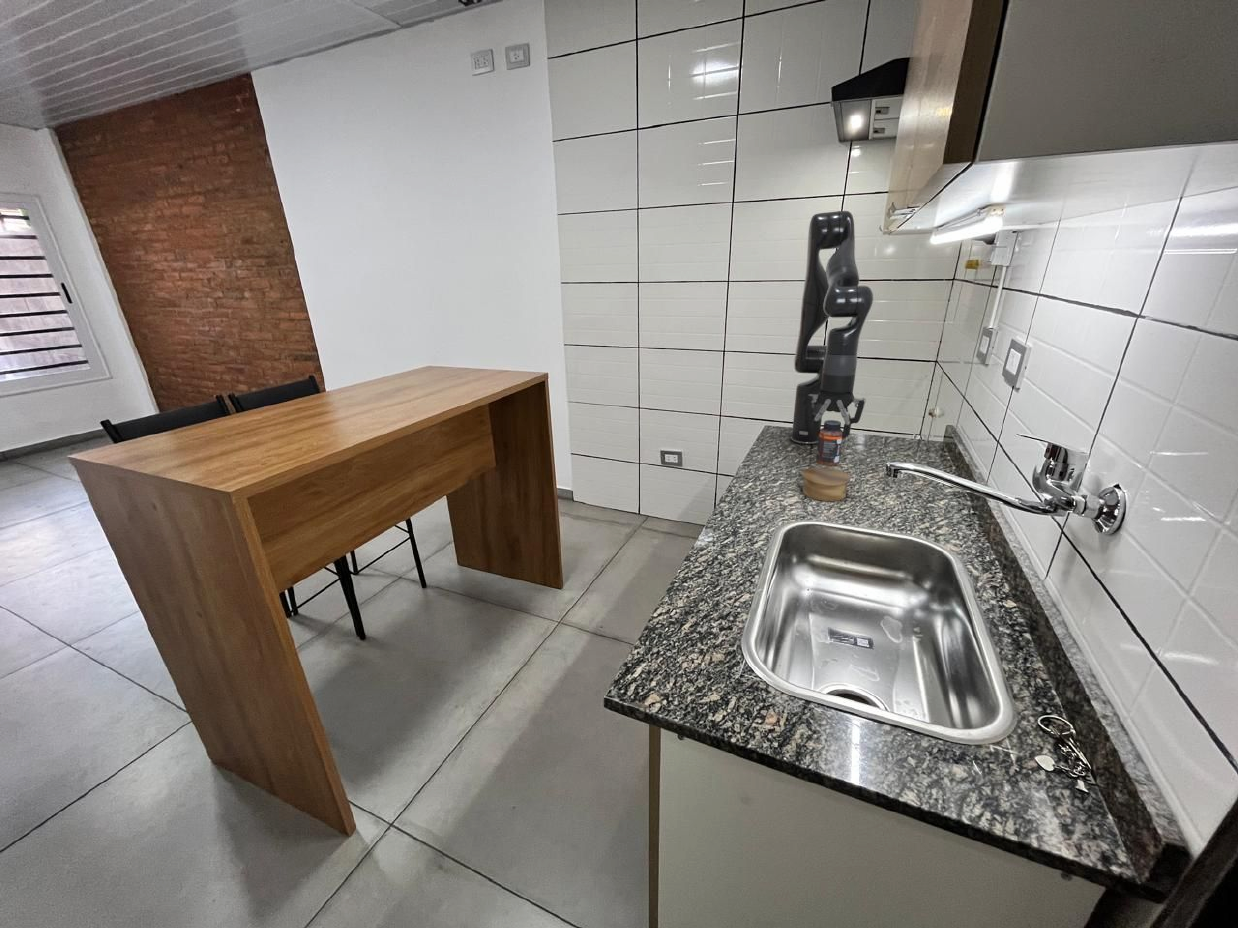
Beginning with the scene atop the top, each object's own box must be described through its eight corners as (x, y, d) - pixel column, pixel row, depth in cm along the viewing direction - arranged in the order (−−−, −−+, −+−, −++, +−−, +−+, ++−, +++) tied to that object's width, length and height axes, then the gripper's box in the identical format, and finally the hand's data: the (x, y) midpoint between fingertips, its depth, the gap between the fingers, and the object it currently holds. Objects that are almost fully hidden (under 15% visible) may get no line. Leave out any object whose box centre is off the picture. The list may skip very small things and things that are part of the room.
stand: (806, 480, 140) (808, 464, 138) (851, 488, 133) (854, 472, 132) (795, 496, 130) (797, 479, 129) (843, 505, 124) (845, 487, 122)
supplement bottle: (843, 466, 126) (849, 425, 122) (820, 467, 126) (825, 425, 122) (834, 458, 131) (839, 418, 127) (812, 459, 132) (816, 419, 127)
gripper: (873, 370, 119) (863, 435, 125) (812, 367, 127) (805, 428, 133) (868, 376, 113) (858, 444, 119) (805, 372, 121) (798, 436, 127)
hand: (830, 435), depth 126 cm, fingers closed on supplement bottle, 6 cm apart
